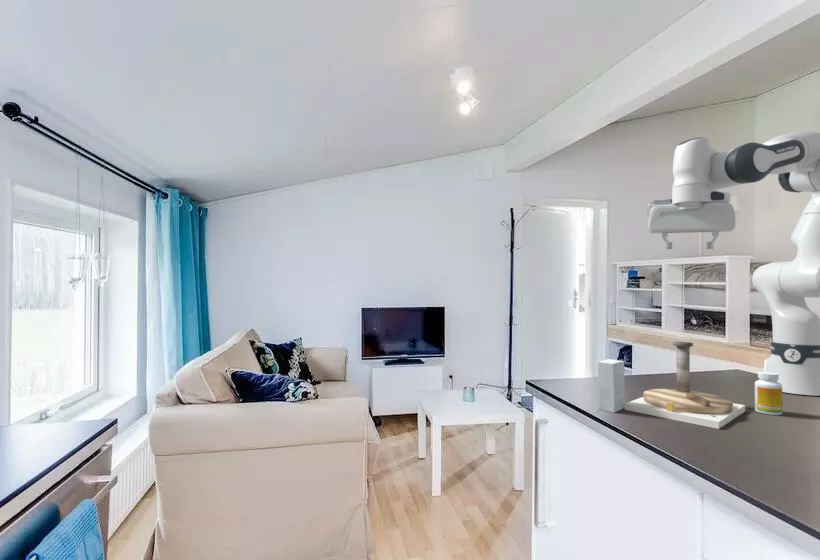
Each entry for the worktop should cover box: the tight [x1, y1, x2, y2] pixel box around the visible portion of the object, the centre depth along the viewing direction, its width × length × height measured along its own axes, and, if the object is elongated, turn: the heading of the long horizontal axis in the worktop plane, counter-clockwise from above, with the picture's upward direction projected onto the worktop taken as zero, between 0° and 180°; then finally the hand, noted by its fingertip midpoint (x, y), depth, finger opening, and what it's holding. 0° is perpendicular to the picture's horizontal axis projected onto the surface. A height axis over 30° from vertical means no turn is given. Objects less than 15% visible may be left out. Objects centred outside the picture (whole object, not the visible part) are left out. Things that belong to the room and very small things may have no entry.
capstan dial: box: [643, 341, 734, 414], centre depth 114 cm, size 19×19×14 cm
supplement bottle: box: [754, 371, 783, 416], centre depth 112 cm, size 5×5×10 cm
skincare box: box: [597, 358, 625, 413], centre depth 114 cm, size 6×4×12 cm
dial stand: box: [624, 396, 746, 430], centre depth 113 cm, size 22×20×4 cm
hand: (689, 249), depth 124 cm, fingers open, 8 cm apart
